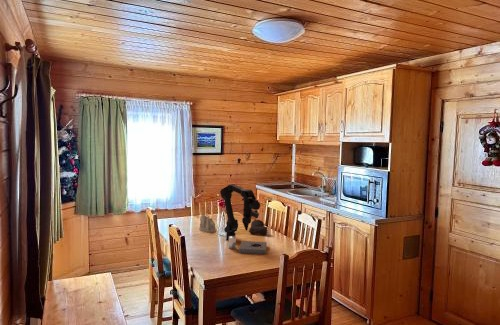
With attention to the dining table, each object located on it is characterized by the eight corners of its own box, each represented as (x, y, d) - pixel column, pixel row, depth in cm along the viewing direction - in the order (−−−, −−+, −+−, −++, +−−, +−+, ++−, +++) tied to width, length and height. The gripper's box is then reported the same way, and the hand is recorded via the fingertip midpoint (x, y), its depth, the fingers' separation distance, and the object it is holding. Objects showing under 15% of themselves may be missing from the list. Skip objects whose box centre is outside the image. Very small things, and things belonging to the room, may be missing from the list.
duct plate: (238, 253, 235) (239, 248, 234) (241, 244, 253) (241, 240, 252) (265, 254, 233) (265, 250, 233) (266, 246, 251) (266, 242, 251)
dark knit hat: (265, 227, 275) (268, 219, 289) (247, 226, 278) (250, 219, 292) (266, 238, 277) (269, 230, 292) (248, 238, 280) (251, 230, 295)
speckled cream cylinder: (228, 248, 243) (228, 237, 242) (229, 246, 248) (229, 235, 247) (235, 249, 242) (235, 238, 242) (236, 247, 247) (236, 236, 247)
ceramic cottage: (208, 233, 281) (209, 214, 281) (195, 230, 291) (196, 212, 291) (222, 230, 292) (223, 212, 292) (209, 227, 303) (209, 210, 303)
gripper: (258, 210, 240) (257, 232, 242) (258, 205, 259) (258, 225, 260) (242, 210, 241) (241, 232, 242) (243, 204, 259) (243, 225, 260)
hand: (246, 228), depth 251 cm, fingers open, 9 cm apart
